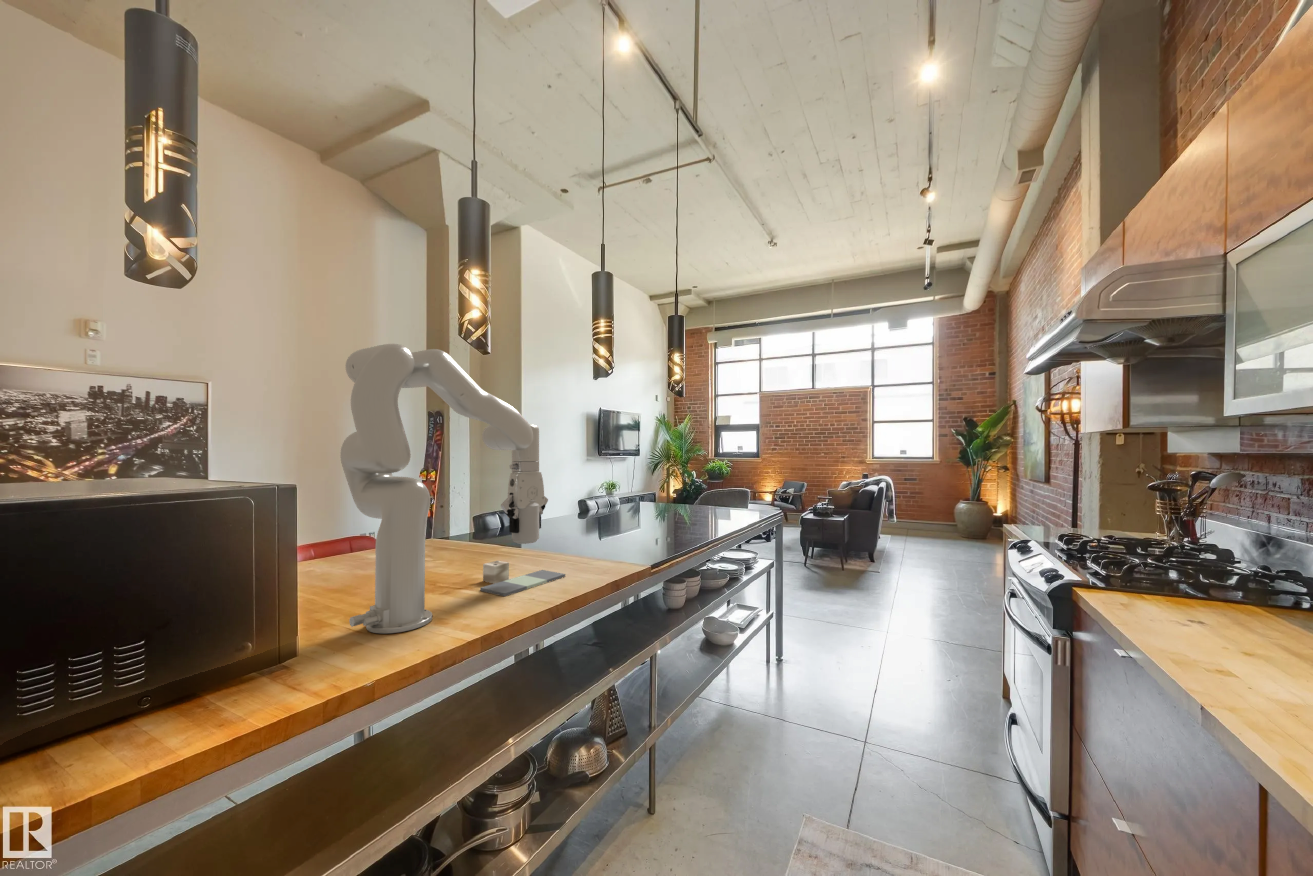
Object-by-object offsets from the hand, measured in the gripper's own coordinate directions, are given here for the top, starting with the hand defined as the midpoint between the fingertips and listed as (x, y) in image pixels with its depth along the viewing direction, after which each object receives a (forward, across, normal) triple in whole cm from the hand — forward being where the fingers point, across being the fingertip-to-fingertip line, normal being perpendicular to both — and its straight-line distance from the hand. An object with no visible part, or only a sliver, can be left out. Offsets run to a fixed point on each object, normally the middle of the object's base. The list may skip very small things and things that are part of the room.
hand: (525, 530), depth 136 cm
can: (+3, 0, 0) cm, 3 cm away
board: (+15, 0, 0) cm, 15 cm away
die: (+15, -2, +10) cm, 18 cm away
